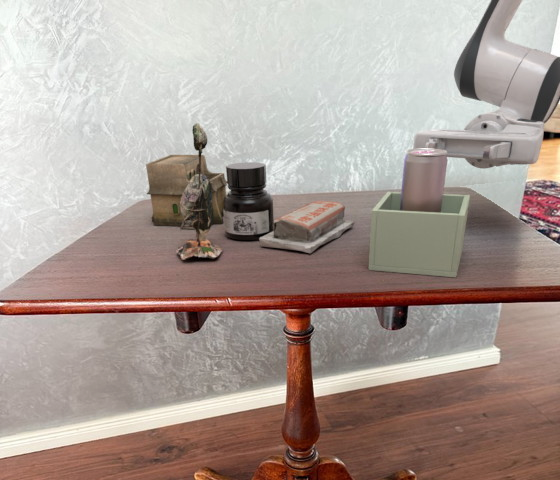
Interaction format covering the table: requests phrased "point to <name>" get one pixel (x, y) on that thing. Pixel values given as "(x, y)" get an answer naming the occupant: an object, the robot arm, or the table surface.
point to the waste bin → (418, 237)
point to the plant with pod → (198, 207)
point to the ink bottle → (247, 202)
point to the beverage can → (423, 180)
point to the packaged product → (308, 227)
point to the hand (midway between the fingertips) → (457, 151)
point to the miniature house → (180, 188)
